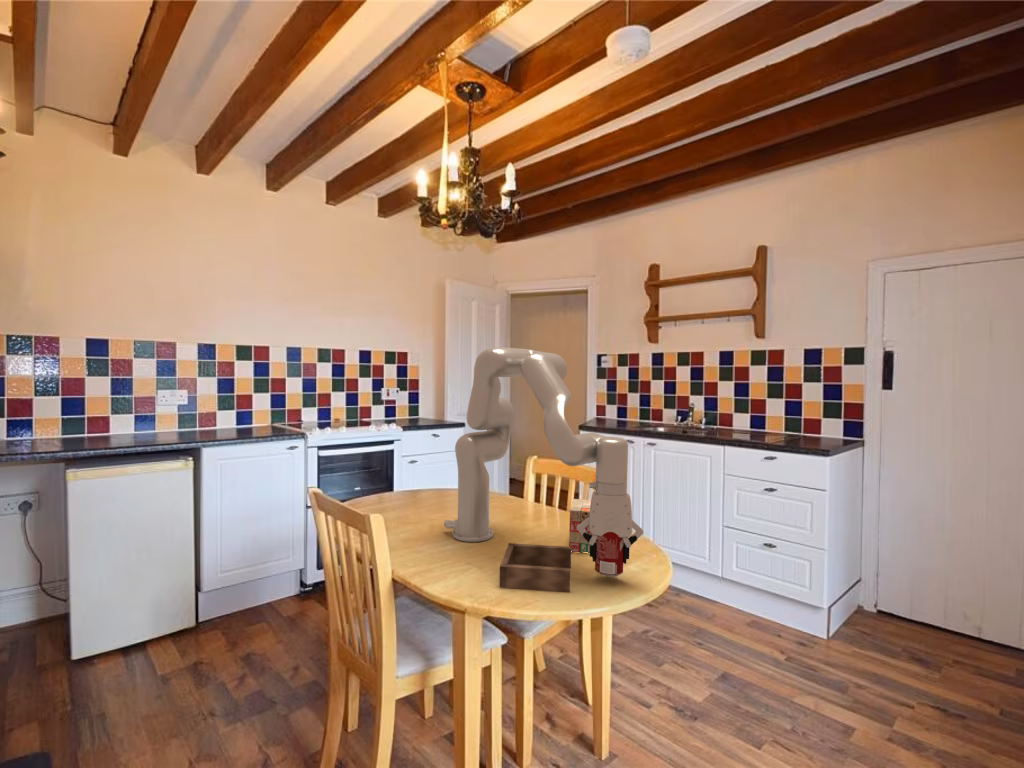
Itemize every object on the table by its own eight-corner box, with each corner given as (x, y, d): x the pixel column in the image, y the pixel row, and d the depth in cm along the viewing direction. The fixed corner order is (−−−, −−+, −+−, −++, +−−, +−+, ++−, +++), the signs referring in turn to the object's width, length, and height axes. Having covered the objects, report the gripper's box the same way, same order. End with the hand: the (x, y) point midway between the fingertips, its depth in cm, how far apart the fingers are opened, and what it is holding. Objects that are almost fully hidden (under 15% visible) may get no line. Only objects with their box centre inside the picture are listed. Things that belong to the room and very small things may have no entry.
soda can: (617, 580, 121) (618, 530, 121) (590, 574, 125) (591, 525, 124) (626, 571, 127) (628, 523, 126) (601, 565, 131) (602, 518, 130)
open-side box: (499, 587, 121) (499, 566, 121) (508, 561, 137) (508, 543, 137) (569, 592, 119) (570, 570, 119) (570, 565, 135) (571, 546, 135)
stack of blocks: (574, 529, 166) (575, 491, 165) (594, 530, 165) (595, 492, 164) (568, 552, 145) (569, 509, 144) (591, 554, 144) (592, 510, 143)
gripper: (575, 490, 122) (573, 564, 123) (649, 494, 120) (647, 569, 121) (575, 483, 130) (573, 552, 131) (645, 486, 128) (643, 557, 128)
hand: (609, 560), depth 126 cm, fingers closed on soda can, 6 cm apart
